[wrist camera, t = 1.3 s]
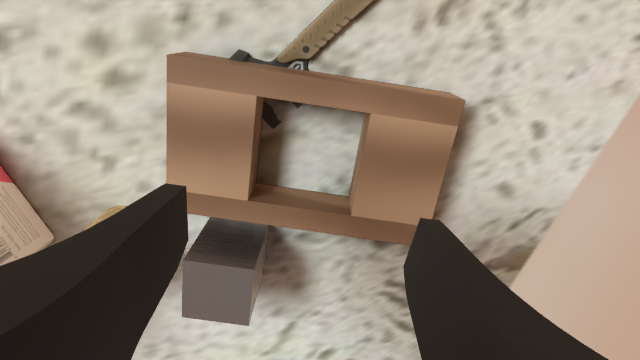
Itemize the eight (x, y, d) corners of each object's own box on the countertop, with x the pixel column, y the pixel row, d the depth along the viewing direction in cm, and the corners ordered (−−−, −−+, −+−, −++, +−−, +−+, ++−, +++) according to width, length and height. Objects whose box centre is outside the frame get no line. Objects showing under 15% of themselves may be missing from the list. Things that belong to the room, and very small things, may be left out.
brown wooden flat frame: (414, 225, 23) (424, 247, 21) (183, 191, 23) (166, 210, 21) (450, 92, 20) (465, 100, 18) (185, 51, 20) (166, 54, 18)
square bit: (263, 270, 25) (248, 325, 20) (209, 262, 25) (181, 316, 20) (269, 222, 24) (254, 270, 19) (212, 214, 24) (183, 260, 19)
